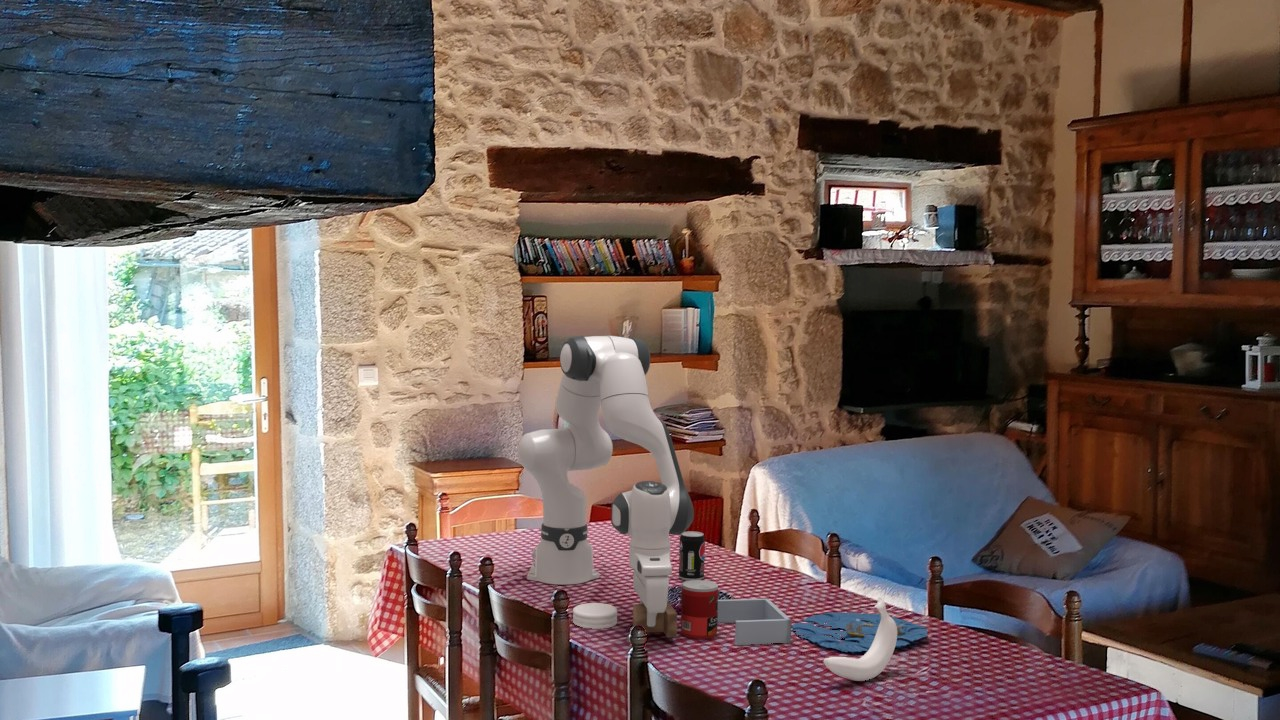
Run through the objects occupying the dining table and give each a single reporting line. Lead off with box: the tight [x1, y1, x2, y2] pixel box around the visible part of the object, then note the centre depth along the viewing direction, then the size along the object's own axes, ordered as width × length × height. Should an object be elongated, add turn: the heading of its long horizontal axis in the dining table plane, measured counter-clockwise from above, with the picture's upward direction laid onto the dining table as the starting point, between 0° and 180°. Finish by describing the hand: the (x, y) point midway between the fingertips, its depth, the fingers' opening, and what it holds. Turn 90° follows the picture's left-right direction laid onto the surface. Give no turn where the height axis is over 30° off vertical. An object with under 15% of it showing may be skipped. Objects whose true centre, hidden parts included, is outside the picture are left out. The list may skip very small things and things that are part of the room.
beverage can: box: [678, 530, 706, 582], centre depth 280 cm, size 7×7×12 cm
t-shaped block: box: [632, 599, 678, 638], centre depth 231 cm, size 8×12×5 cm, turn 10°
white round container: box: [572, 602, 618, 630], centre depth 240 cm, size 10×10×4 cm
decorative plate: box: [791, 611, 928, 654], centre depth 236 cm, size 30×30×5 cm
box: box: [717, 598, 792, 646], centre depth 236 cm, size 17×12×5 cm
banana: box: [823, 596, 897, 682], centre depth 207 cm, size 5×19×15 cm, turn 132°
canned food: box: [680, 579, 719, 640], centre depth 233 cm, size 8×8×11 cm
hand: (648, 621), depth 231 cm, fingers closed on t-shaped block, 4 cm apart
